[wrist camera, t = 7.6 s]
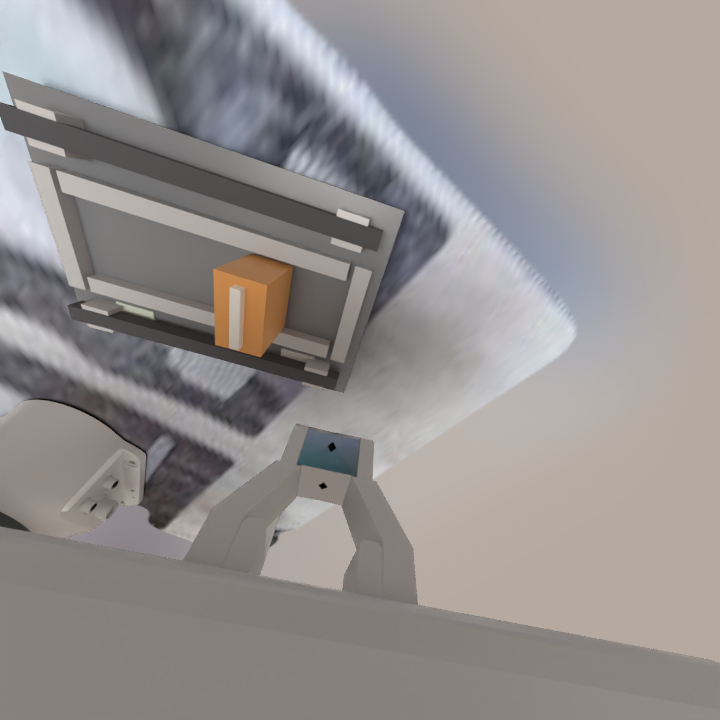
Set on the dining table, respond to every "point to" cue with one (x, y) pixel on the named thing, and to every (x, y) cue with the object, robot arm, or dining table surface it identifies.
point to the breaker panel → (199, 234)
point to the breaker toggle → (250, 303)
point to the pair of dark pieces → (207, 186)
